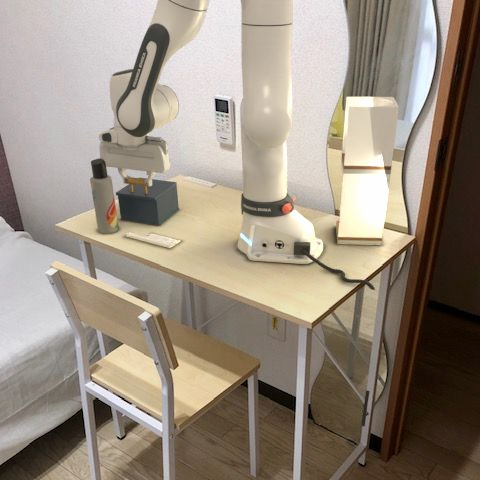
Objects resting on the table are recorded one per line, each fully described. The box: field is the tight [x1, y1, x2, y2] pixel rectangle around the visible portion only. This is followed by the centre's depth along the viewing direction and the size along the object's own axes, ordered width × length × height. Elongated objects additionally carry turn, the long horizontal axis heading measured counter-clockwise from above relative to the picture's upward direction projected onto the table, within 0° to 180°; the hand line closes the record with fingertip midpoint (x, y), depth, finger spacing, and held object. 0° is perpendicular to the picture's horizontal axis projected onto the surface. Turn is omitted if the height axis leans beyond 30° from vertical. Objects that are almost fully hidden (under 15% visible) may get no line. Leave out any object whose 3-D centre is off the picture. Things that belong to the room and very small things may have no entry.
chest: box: [117, 184, 180, 227], centre depth 171 cm, size 13×13×8 cm
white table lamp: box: [335, 96, 400, 246], centre depth 148 cm, size 11×11×35 cm
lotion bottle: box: [89, 157, 119, 235], centre depth 159 cm, size 6×6×20 cm
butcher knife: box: [125, 231, 181, 249], centre depth 158 cm, size 5×15×1 cm, turn 59°
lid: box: [115, 176, 178, 201], centre depth 167 cm, size 13×13×5 cm
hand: (137, 184), depth 163 cm, fingers closed on lid, 5 cm apart
